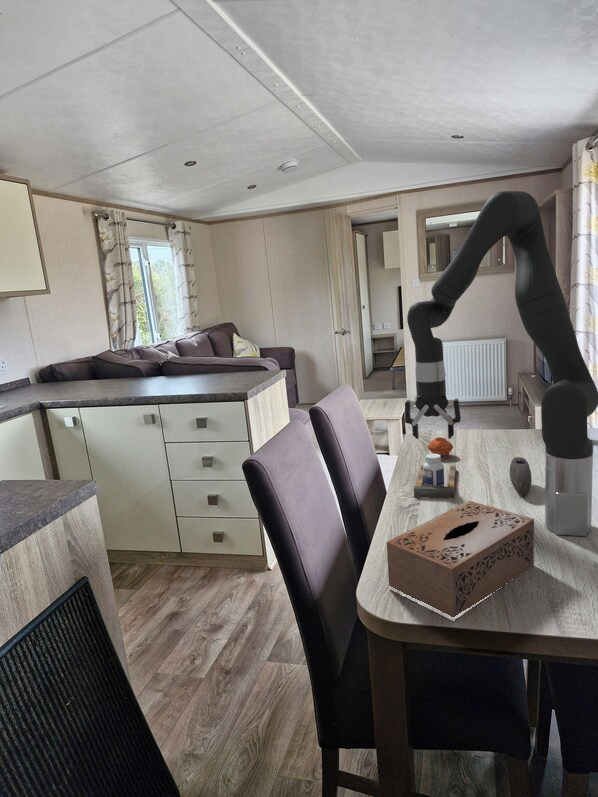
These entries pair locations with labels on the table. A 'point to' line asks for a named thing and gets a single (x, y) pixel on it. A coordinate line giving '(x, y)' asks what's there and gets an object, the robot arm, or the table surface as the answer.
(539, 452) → the table surface
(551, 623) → the table surface
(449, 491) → the guide channel
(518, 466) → the perforated stone tool
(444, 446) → the pot
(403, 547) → the tissue box cover
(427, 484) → the pill bottle
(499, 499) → the table surface
